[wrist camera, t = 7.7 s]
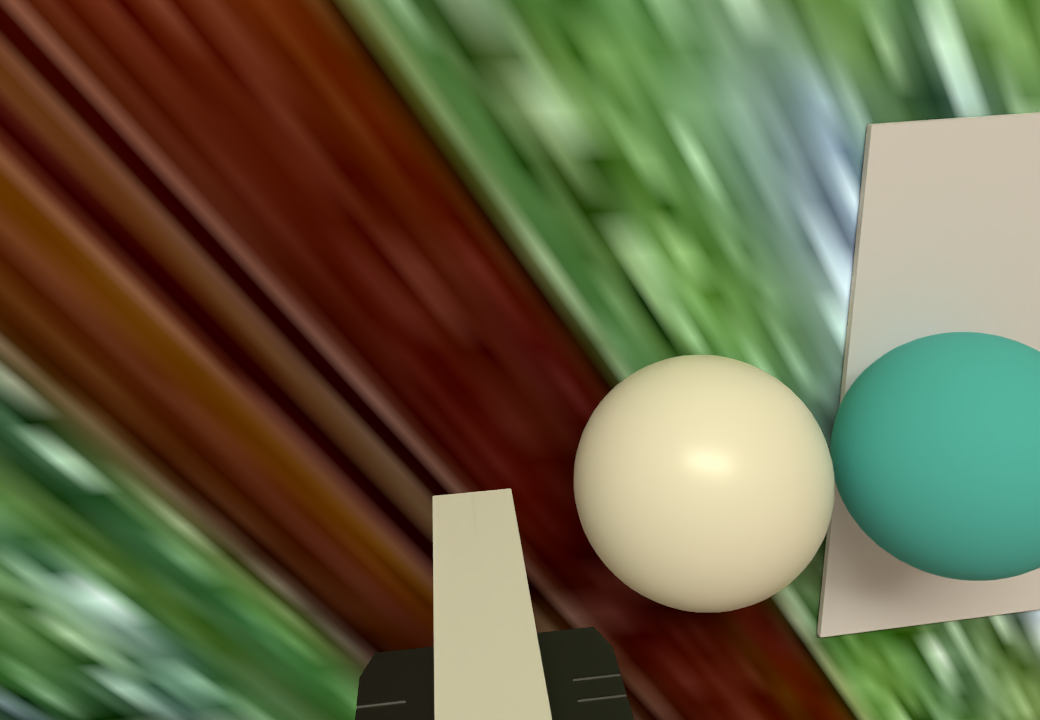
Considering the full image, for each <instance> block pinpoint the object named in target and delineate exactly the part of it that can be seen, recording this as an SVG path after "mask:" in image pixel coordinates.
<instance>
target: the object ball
mask: <svg viewBox="0 0 1040 720" xmlns="http://www.w3.org/2000/svg"><path fill="white" fill-rule="evenodd" d="M830 451H831V459H832V463H833V470H834V479H835V482H836V486H837V489H838V491H839V494H840V496H841V498H842V501H843V502H844V504H845V506H846V508H847V510H848V511H849V513H850V515H851V516H852V518H853V519H854V520H855V522H856V523H857V524H858V525H859V527H860V528H861V529H862V530H863V531H864V532H865V533H866V534H867V536H868V537H869V538H871V539H872V540H873V541H874V542H875V543H876V544H877V545H878V546H879V547H881V548H882V549H884V550H885V551H886V552H888V553H889V554H891V555H892V556H894V557H895V558H897V559H898V560H900V561H902V562H904V563H906V564H908V565H910V566H912V567H915V568H917V569H919V570H921V571H924V572H927V573H931V574H934V575H937V576H941V577H945V578H951V579H958V580H968V581H989V580H998V579H1004V578H1010V577H1014V576H1019V575H1022V574H1025V573H1027V572H1030V571H1033V570H1036V569H1038V568H1040V351H1038V350H1036V349H1034V348H1031V347H1029V346H1027V345H1025V344H1023V343H1020V342H1018V341H1015V340H1012V339H1008V338H1005V337H1001V336H997V335H992V334H985V333H978V332H949V333H941V334H935V335H930V336H926V337H922V338H918V339H916V340H913V341H911V342H908V343H905V344H903V345H900V346H898V347H896V348H894V349H892V350H891V351H889V352H887V353H886V354H884V355H883V356H881V357H880V358H878V359H877V360H876V361H875V362H873V363H872V364H871V365H870V366H869V367H867V368H866V369H865V370H864V371H863V372H862V373H861V374H860V375H859V376H858V378H857V379H856V380H855V381H854V383H853V384H852V385H851V387H850V388H849V390H848V391H847V393H846V394H845V396H844V398H843V400H842V402H841V404H840V406H839V409H838V411H837V414H836V418H835V421H834V425H833V430H832V436H831V450H830Z"/></svg>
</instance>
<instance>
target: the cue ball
mask: <svg viewBox="0 0 1040 720" xmlns="http://www.w3.org/2000/svg"><path fill="white" fill-rule="evenodd" d="M574 495H575V502H576V506H577V510H578V515H579V519H580V521H581V524H582V527H583V530H584V532H585V534H586V536H587V538H588V540H589V542H590V544H591V545H592V547H593V549H594V550H595V552H596V553H597V555H598V556H599V557H600V559H601V560H602V561H603V563H604V564H605V565H606V566H607V567H608V568H609V570H610V571H611V572H612V573H613V574H614V575H615V576H616V577H618V578H619V579H620V580H621V581H622V582H623V583H624V584H626V585H627V586H629V587H630V588H631V589H633V590H634V591H636V592H638V593H639V594H641V595H643V596H644V597H646V598H649V599H651V600H653V601H655V602H657V603H660V604H663V605H665V606H668V607H671V608H675V609H679V610H684V611H691V612H725V611H733V610H736V609H740V608H744V607H747V606H751V605H754V604H756V603H758V602H761V601H763V600H765V599H767V598H769V597H771V596H772V595H774V594H775V593H777V592H779V591H780V590H782V589H783V588H785V587H786V586H788V585H789V584H790V583H791V582H792V581H793V580H794V579H795V578H797V577H798V575H799V574H800V573H801V572H802V571H803V570H804V569H805V568H806V567H807V565H808V564H809V563H810V562H811V560H812V559H813V557H814V556H815V554H816V552H817V551H818V549H819V547H820V545H821V543H822V542H823V540H824V538H825V535H826V532H827V529H828V526H829V523H830V520H831V516H832V511H833V505H834V470H833V463H832V459H831V456H830V452H829V449H828V445H827V442H826V440H825V437H824V435H823V433H822V431H821V428H820V426H819V425H818V423H817V421H816V420H815V418H814V416H813V415H812V413H811V412H810V411H809V409H808V408H807V407H806V406H805V404H804V403H803V402H802V401H801V400H800V399H799V398H798V397H797V396H796V395H795V394H794V393H793V392H792V391H791V390H790V389H789V388H788V387H787V386H785V385H784V384H783V383H782V382H780V381H779V380H778V379H776V378H775V377H773V376H771V375H770V374H768V373H766V372H765V371H763V370H761V369H759V368H757V367H755V366H752V365H750V364H748V363H745V362H742V361H739V360H736V359H732V358H727V357H722V356H715V355H687V356H679V357H673V358H668V359H665V360H662V361H659V362H656V363H653V364H651V365H648V366H646V367H644V368H642V369H640V370H638V371H636V372H634V373H633V374H631V375H630V376H629V377H627V378H626V379H624V380H623V381H622V382H620V383H619V384H618V385H616V386H615V387H614V388H613V389H612V390H611V391H610V392H609V393H608V394H607V395H606V396H605V397H604V399H603V400H602V401H601V402H600V403H599V405H598V406H597V408H596V409H595V410H594V412H593V413H592V415H591V417H590V419H589V421H588V423H587V425H586V427H585V429H584V431H583V433H582V436H581V439H580V442H579V445H578V449H577V452H576V458H575V464H574Z"/></svg>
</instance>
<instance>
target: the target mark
mask: <svg viewBox="0 0 1040 720" xmlns="http://www.w3.org/2000/svg"><path fill="white" fill-rule="evenodd" d="M949 332H978V333H985V334H992V335H997V336H1001V337H1005V338H1008V339H1012V340H1015V341H1018V342H1020V343H1023V344H1025V345H1027V346H1029V347H1031V348H1034V349H1036V350H1038V351H1040V112H1036V113H1021V114H1007V115H993V116H978V117H964V118H950V119H936V120H921V121H907V122H893V123H878V124H867V132H866V142H865V152H864V162H863V172H862V182H861V192H860V202H859V213H858V223H857V233H856V243H855V253H854V263H853V273H852V283H851V294H850V304H849V314H848V324H847V334H846V344H845V354H844V364H843V375H842V385H841V395H840V404H841V402H842V400H843V398H844V396H845V394H846V393H847V391H848V390H849V388H850V387H851V385H852V384H853V383H854V381H855V380H856V379H857V378H858V376H859V375H860V374H861V373H862V372H863V371H864V370H865V369H866V368H867V367H869V366H870V365H871V364H872V363H873V362H875V361H876V360H877V359H878V358H880V357H881V356H883V355H884V354H886V353H887V352H889V351H891V350H892V349H894V348H896V347H898V346H900V345H903V344H905V343H908V342H911V341H913V340H916V339H918V338H922V337H926V336H930V335H935V334H941V333H949ZM839 406H840V405H839ZM1039 609H1040V568H1038V569H1036V570H1033V571H1030V572H1027V573H1025V574H1022V575H1019V576H1014V577H1010V578H1004V579H998V580H989V581H968V580H958V579H951V578H945V577H941V576H937V575H934V574H931V573H927V572H924V571H921V570H919V569H917V568H915V567H912V566H910V565H908V564H906V563H904V562H902V561H900V560H898V559H897V558H895V557H894V556H892V555H891V554H889V553H888V552H886V551H885V550H884V549H882V548H881V547H879V546H878V545H877V544H876V543H875V542H874V541H873V540H872V539H871V538H869V537H868V536H867V534H866V533H865V532H864V531H863V530H862V529H861V528H860V527H859V525H858V524H857V523H856V522H855V520H854V519H853V518H852V516H851V515H850V513H849V511H848V510H847V508H846V506H845V504H844V502H843V501H842V498H841V496H840V494H839V491H838V489H837V486H836V482H835V479H834V505H833V511H832V516H831V520H830V523H829V526H828V529H827V537H826V547H825V557H824V567H823V577H822V587H821V597H820V607H819V618H818V628H817V634H818V635H819V636H820V637H828V636H836V635H843V634H851V633H859V632H867V631H875V630H882V629H890V628H898V627H906V626H914V625H922V624H929V623H937V622H945V621H953V620H961V619H968V618H976V617H984V616H992V615H1000V614H1007V613H1015V612H1023V611H1031V610H1039Z"/></svg>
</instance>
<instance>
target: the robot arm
mask: <svg viewBox="0 0 1040 720" xmlns="http://www.w3.org/2000/svg"><path fill="white" fill-rule="evenodd" d="M433 591H434V647H425V648H416V649H407V650H398V651H389V652H380V653H375V654H374V656H373V657H372V659H371V660H370V662H369V664H368V665H367V667H366V668H365V670H364V672H363V673H362V675H361V676H360V678H359V688H358V697H357V710H356V716H355V720H634V718H633V714H632V711H631V708H630V704H629V701H628V698H627V697H626V691H625V687H624V684H623V681H622V677H621V676H620V671H619V667H618V664H617V660H616V657H615V654H614V650H613V647H612V646H611V645H610V644H609V643H608V642H607V641H606V640H605V639H604V638H603V636H602V635H601V634H600V633H599V632H598V631H597V630H596V629H595V628H594V627H588V628H579V629H570V630H561V631H552V632H542V633H537V632H536V626H535V621H534V615H533V610H532V604H531V598H530V593H529V587H528V582H527V576H526V570H525V565H524V559H523V554H522V548H521V542H520V537H519V531H518V525H517V520H516V514H515V509H514V503H513V497H512V492H511V489H501V490H491V491H481V492H470V493H460V494H450V495H439V496H433Z"/></svg>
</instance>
